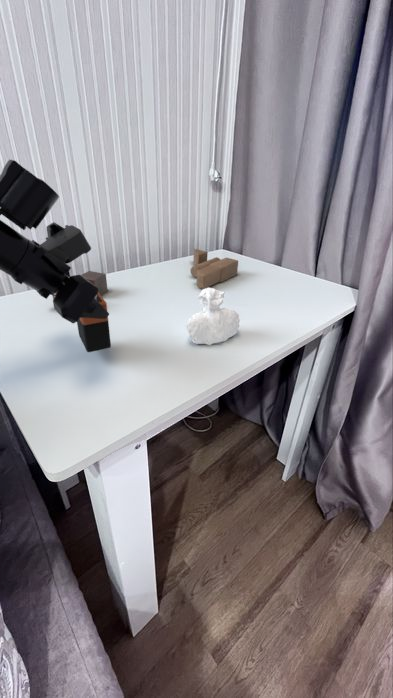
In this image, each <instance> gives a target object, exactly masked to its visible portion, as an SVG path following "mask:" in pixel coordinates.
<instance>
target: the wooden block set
mask: <svg viewBox="0 0 393 698" xmlns="http://www.w3.org/2000/svg"><path fill="white" fill-rule="evenodd" d="M208 256H209V255H208V251H205V250H201V249H198V248H193V258H192V259H193V260H192V261H193V262H192V263H193V266H191V267H190V275H191V276H192V277H194V278H196V285H197V287H198V288H199V289H201V290H203V289H205V288H206V289H207V288H210V287H211V286H213V285H215V284H218V283H223V282H224V281H227V280H229V279H231V278H234V277H235V276H237V275H238V270H239V269H238V268H239V260H238V259H234V258H230V257H224V258H220V257H217V256H216V257H213V258H211V259H208Z"/></svg>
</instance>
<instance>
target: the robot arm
mask: <svg viewBox="0 0 393 698" xmlns="http://www.w3.org/2000/svg"><path fill="white" fill-rule="evenodd" d="M1 171H2V172H1V173H0V216H1V215H2V216H3V217H5V218H6V219H7V220H8V221H10V222H11V223H13V224H14V225H15V226H17V227H19V229H21V230H23V231H25V230H26V229H29V230H30V231H31V230H32V228H33V229H35V230H36V229H38V227H39V226H40V225H41V222H42V221H43V220H44V219H45V218H46V216H47V215H48V213H49V212H51V211H50V210H51V209H52V208H53V207H54V205H55V204H56V203H57V201H58V200H59V198H60V196H59V194H58V193H57V192H56V191H55V190H54V189H53V188H52V187H51V186H50V185H49V184H47V183H46V181H45V180H43V179H41V178H38V177H37V176H36V175H34V174H33V173H32V172H31V171H29V170H28V169H26V168H25V167H23V166H22V165H21V164H20V163H19V162H18V161H16V160H14V159H8V160H7V162H6V164H4V166H3V168H2V170H1ZM46 234H47V236H46V237H45V241H43V242H42V243H41V244H40V243H39V242H37V241H35V240H34V239H32V240H31V239H28V238H27V237H25V236H24V235H23V234H21V232H18V231H17V230H16V229H15V228H13V227H12V226H10V225H9V224H8V223H6V222H4V221H3V220H2V219H0V271H1V272H4V273H5V274H7V275H9V276H10V277H11V278H12V279H13V280H14V281H15V282H16V283H18V284H20V285H22V284H23V285H25V286H27V287H29V288H31V289H33V290H34V291H36V292H37V293H38V295H39V296H40V297H42V298H44V299H46V300H47V299H48V298H49V297H50V296H52V295H54V296H56V297H55V298H54V300H53V299H52V304H53V309H54V311H56V313H58V314H59V316H60V317H61V318H62V319H64V320H66V321H68V322H69V323H71V324H75V323H77V321H78V320H79V318H99V319H106V318H107V317H108V318H109V316H110V313H109V311H108V310H107V311H106V310H105V309H104V308H103V306H102V305H101V304H100V303H99V302H98V301H97V300H96V299H95V296H96V295H97V294H98V288H97V287H96V286H94V285H93V284H92V283H91V282H89V281H88V280H86V279H85V278H84V277H82V276H81V275H82V274H75V275H70V271H71V269H72V266H70V265H69V264H70V263H73V262H74V261H76V259H78V258H80V257H81V256H82V255H85V254H88V253H89V252H90V251H91V250H92V246H91V245H90V243H89V242H88V240H87V238H86V236H85V235H84V233H83V232H82V230H81V228H78V227H77V226H75V225H74V224H73V225H72V224H71V225H68V224H66V225H64V227H63V226H62V225H60V224H59V223H56V222H52V223H51V222H50V224H48V225H46Z"/></svg>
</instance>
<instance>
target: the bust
mask: <svg viewBox="0 0 393 698" xmlns="http://www.w3.org/2000/svg"><path fill="white" fill-rule="evenodd" d="M225 293H226V292H225V291H220V290H217V289H216V288H214V287H207V288H205V289H201V291H200V293H199V295H198V296H197V299H198V300H199V305H203V308H202V311H200V312H196V313H194V314H193V315H192V316H191V317H189V318H188V320H187V321H186V324H185V327H186V330H187V332H188V335H189V337H190V339H191V341H192V342H193V343H194V344H198V345H207V346H211V345H213V344H219V343H222V342H226V341H228V339H230V338H232V337H234V336H235V335H236V334H237V333H238V331H239V328H240V321H241V319H240V315H239V313H238V312H237V311H236V310H234V309H230V308H227V307H222V308H220V307H221V305H222V304H224V298H225Z"/></svg>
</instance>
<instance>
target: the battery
mask: <svg viewBox="0 0 393 698" xmlns="http://www.w3.org/2000/svg"><path fill="white" fill-rule="evenodd" d="M95 299H96V300H97V301H98V302H99V303H100V304H101V305H102V306H103V308H104V309H105V310H106V311H107V312H108V303H107V302H106V300H105V299H104V298H103V295H102V296H101V295H100V294H99V292H98V294H97V295H96V296H95ZM76 325H77V331H78V336H79V338H80V340H81V342H82V345H83V346H84V348H85V351H86V352H87V353H92V352H97V351H102V350H106V349H110V348H111V347H112V344H111V343H112V342H111V333H110V324H109V316H108V317H107V318H106V319H99V318H79V320H78V321H77V322H76Z"/></svg>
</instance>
